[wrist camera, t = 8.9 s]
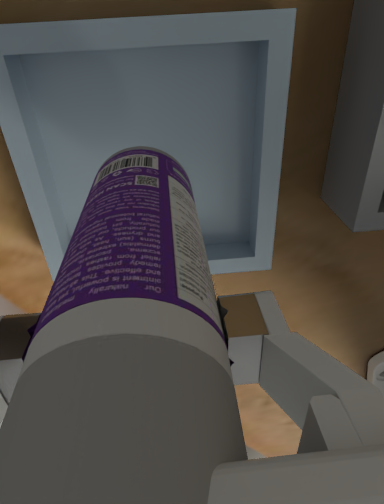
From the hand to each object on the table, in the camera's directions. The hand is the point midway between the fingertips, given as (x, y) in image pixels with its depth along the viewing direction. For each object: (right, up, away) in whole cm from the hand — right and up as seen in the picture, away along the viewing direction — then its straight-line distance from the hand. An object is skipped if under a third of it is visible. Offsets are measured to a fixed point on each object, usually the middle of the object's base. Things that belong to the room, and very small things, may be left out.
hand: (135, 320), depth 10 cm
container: (-1, +5, +7) cm, 9 cm away
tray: (-1, +8, +13) cm, 15 cm away
